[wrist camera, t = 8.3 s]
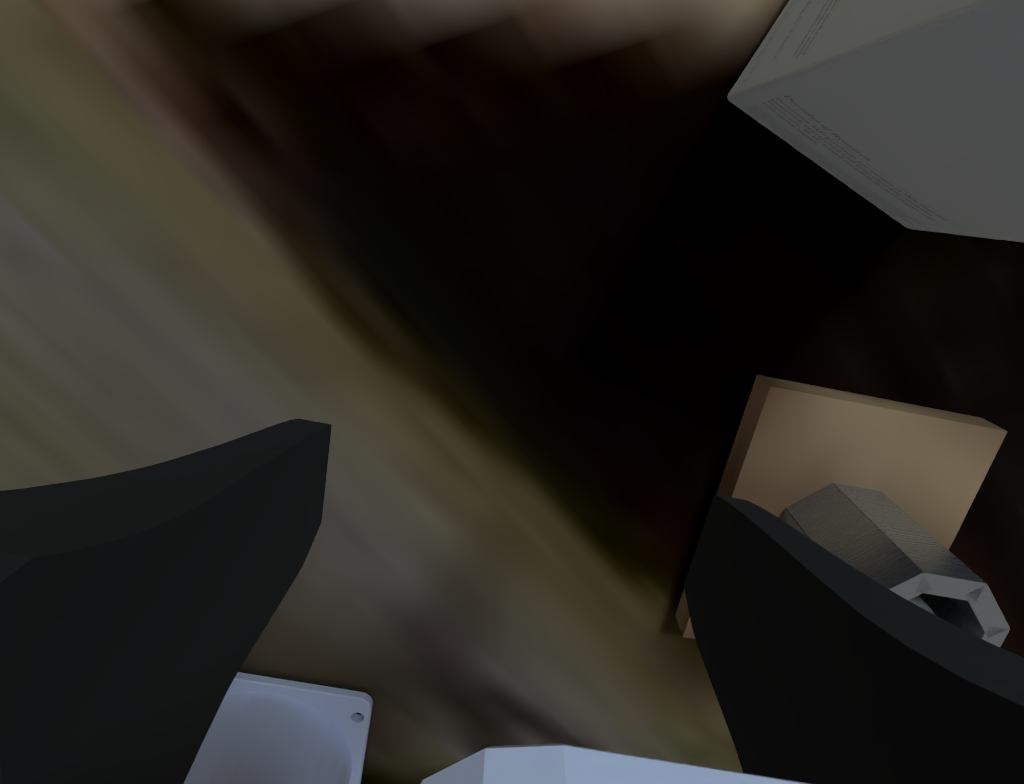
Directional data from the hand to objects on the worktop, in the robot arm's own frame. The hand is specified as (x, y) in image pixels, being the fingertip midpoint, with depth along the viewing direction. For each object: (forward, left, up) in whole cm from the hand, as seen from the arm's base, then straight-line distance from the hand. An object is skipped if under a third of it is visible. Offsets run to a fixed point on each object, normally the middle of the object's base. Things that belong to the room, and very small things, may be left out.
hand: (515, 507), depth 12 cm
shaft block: (-4, -12, -10) cm, 16 cm away
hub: (-4, -12, -9) cm, 15 cm away
